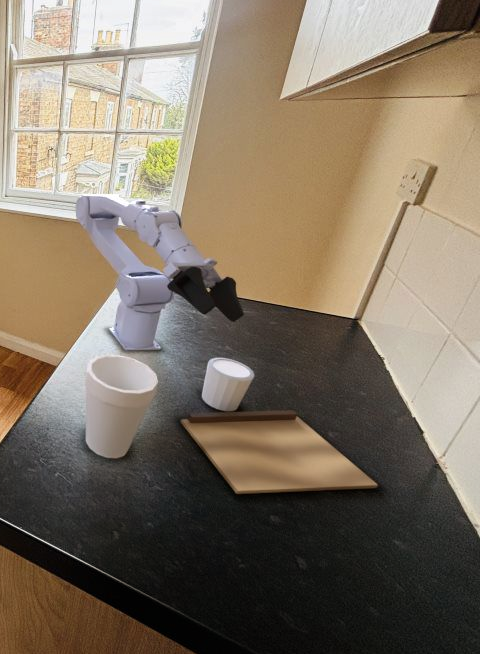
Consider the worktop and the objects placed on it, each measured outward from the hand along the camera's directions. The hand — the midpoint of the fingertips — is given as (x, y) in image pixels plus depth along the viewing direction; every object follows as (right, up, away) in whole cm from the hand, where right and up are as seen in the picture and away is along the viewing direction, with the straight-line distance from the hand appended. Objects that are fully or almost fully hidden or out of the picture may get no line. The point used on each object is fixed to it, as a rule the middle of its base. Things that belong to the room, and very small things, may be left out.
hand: (223, 314), depth 65 cm
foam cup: (-20, -20, -3) cm, 28 cm away
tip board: (+4, -21, -4) cm, 22 cm away
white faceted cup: (+3, -16, +6) cm, 17 cm away
